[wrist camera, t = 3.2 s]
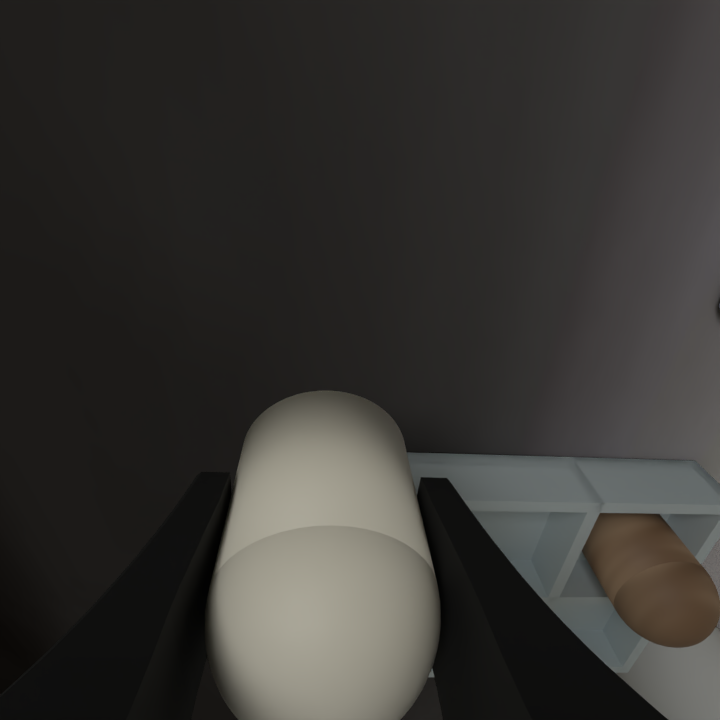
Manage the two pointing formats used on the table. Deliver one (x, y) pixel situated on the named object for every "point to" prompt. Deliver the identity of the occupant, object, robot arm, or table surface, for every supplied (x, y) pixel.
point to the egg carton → (577, 524)
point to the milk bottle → (680, 679)
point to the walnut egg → (652, 579)
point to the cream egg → (323, 569)
